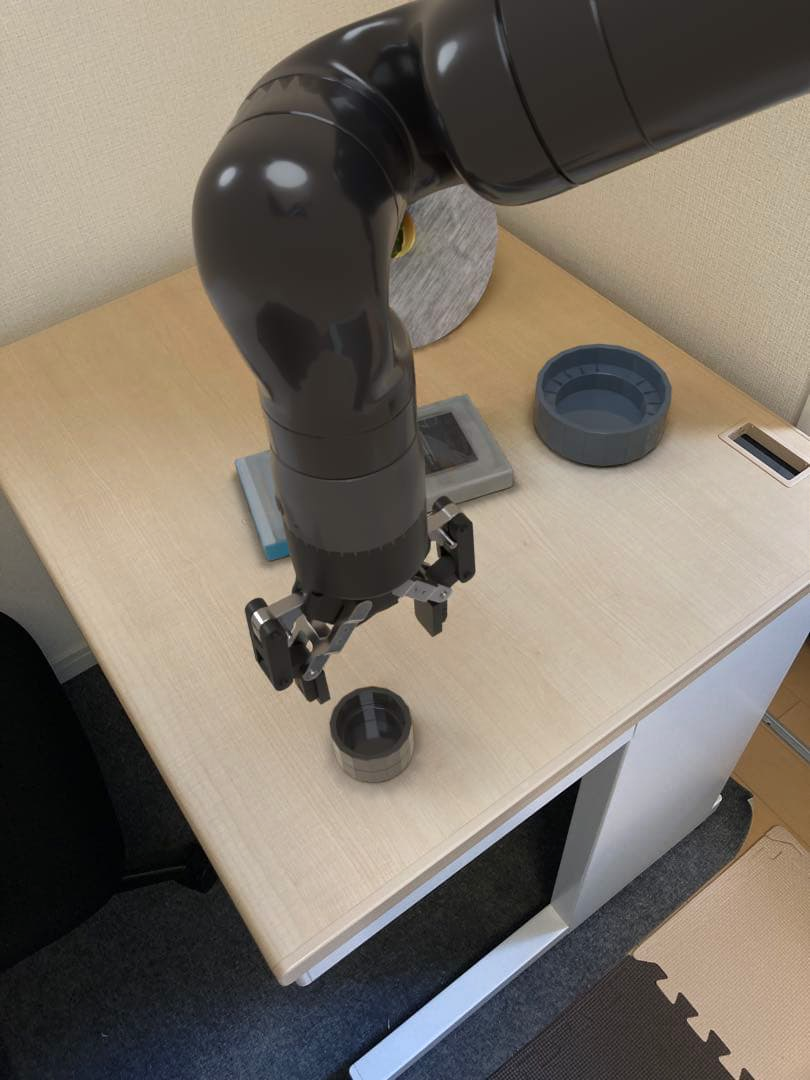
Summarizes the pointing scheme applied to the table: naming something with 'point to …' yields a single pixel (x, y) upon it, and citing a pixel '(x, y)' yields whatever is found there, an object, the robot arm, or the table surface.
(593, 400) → the grey bowl
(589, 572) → the table surface
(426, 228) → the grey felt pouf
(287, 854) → the table surface
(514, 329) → the table surface
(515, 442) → the table surface
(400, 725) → the black cup
